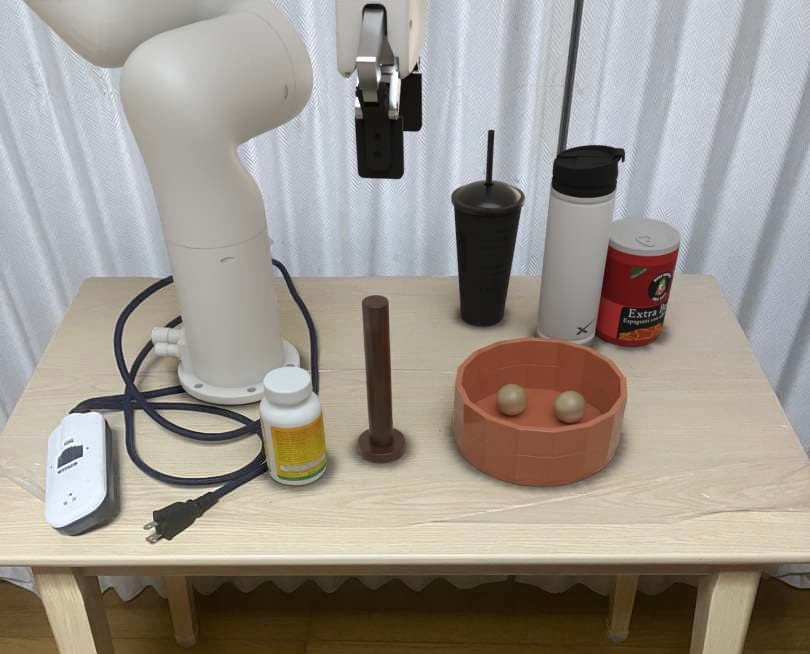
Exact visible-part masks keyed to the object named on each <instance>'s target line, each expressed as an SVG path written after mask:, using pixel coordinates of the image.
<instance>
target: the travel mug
mask: <svg viewBox="0 0 810 654" xmlns="http://www.w3.org/2000/svg"><path fill="white" fill-rule="evenodd" d="M625 150H626V149H625V148H624V147H614V146H610V145H603V144H586V145H580V146H574V147H570V148H567V149H564V150H562V151H560V152H559V153H557V155H556V157H555V158H554V159H553V163H552V176H551V181H550V191H549V198H548V207H547V208H548V209H547V218H546V229H545V239H544V247H543V248H544V249H543V259H542V268H541V279H540V289H539V298H538V300H539V301H538V308H537V309H538V311H537V319H536V322H537V323H536V329H535V330H536V331H535V337H536V338H552V339H562V340H565V341H569V342H573V343H576V344H580V345H583V346H587V347H590V348H592V346H593V345H594V342H595V336H596V333H595V328H596V323H597V317H598V310H599V303H600V297H601V290H602V283H603V277H604V270H605V263H606V257H607V250H608V243H609V237H610V230H611V223H612V222H613V215H614V210H615V203H616V194H617V190H618V186H617V185H618V178H619V162H620V161H621V163H625V161H626V151H625Z"/></svg>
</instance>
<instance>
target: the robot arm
mask: <svg viewBox="0 0 810 654" xmlns="http://www.w3.org/2000/svg"><path fill="white" fill-rule="evenodd" d="M22 2H23V3H24V4H26V6H28V8H29V9H31V11H33V13H35V14H36V15H37V17H39V18H40V19H41V20H42V21H43V22H44V23H45V24H46V25H47V27H49V28H50V29H51V30H52V31H53V32H54V33H55V34H56V35H57V36H58V37H59V38H60V39H61V40H62V41H63V42H64V43H65V44H66V45H67V46H68V47H69V48H71V49H72V50H73V51H74V52H75V53H76V54H77V55H79V56H80V57H81V58H82V59H84V60H85V61H87V62H88V63H89V64H91V65H93V66H96V67H98V68H102V69H118V68H122V69H121V73H120V76H119V77H120V78H119V96H120V102H121V107H122V109H123V113H124V115H125V117H126V121H127V124H128V126H129V129H130V130H131V133H132V136H133V139H134V140H135V143H136V145H137V148H138V150H139V153H140V155H141V158H142V160H143V163H144V166H145V169H146V172H147V175H148V178H149V182H150V185H151V189H152V192H153V195H154V196H153V197H154V200H155V204H156V208H157V212H158V218H159V221H160V226H161V230H162V231H161V232H162V235H163V238H164V243H165V248H166V252H167V257H168V262H169V265H170V266H169V268H170V271H171V275H172V279H173V280H172V281H173V285H174V289H175V290H174V291H175V295H176V299H177V304H178V308H179V312H180V317H181V322H182V327H181V328H180V329H179V328H172V327H162V326H160V327H159V326H154V327H153V328H152V330H151V336H150V337H151V342H152V344H153V346H154V355H155V356H156V357H162V358H170V357H172V358H173V357H174V358H177V360H179V363H178V366H177V376H178V380H179V384H180V385H181V388H182V390H184V391H185V392H186V393H187V394H188V395H190V396H192V397H193V398H195V399H198V400H200V401H203V402H206V403H211V404H215V405H226V406H227V405H228V406H231V405H233V406H234V405H244V404H245V405H246V404H252V403H257V402H261V401H262V399H263V398H264V397H265V394H264V385H263V380H264V377H265V376H266V375H267V374H268V373H269V372H271V371H272V370H275V369H278V368H281V367H299V368H302V367H301V358H300V357H301V356H300V353H299V351H298V350H297V348H296V347H295V346H294V345H293V344H291V342H289V341H288V340H285V339H283V336H282V329H281V321H280V314H279V313H280V312H279V305H278V297H277V291H276V290H277V289H276V283H275V282H276V281H275V274H274V266H273V260H272V252H271V244H270V237H269V229H268V222H267V215H266V208H265V207H266V206H265V202H264V197H263V194H262V192H261V189H260V187H259V185H258V183H257V181H256V180H255V178H254V177H253V176H252V174H251V173H250V172H249V170H248V169H247V167H246V166H245V165H244V163H243V162H242V160H241V158H240V156H239V152H238V148H239V146H241V145H243V144H245V143H247V142H249V141H250V140H252V139H254V138H256V137H259V136H261V135H263V134H265V133H268V132H271V131H272V130H276V129H277V128H279V127H281V126H283V125H285V124H287V123H289V122H291V121H292V120H294V119H295V118H296V117H298V116H299V115H300V114H301V113H302V112H303V110H304V109H305V108H306V107H307V105H308V103H309V101H310V99H311V97H312V93H313V88H314V70H313V65H312V60H311V56H310V54H309V51H308V49H307V47H306V44H305V42H304V41H303V39H302V37H301V35H300V34H299V32H298V31H297V29H296V28H295V26H294V25H293V23H292V22H291V21H290V20H289V19H288V18H287V16H286V15H285V14H284V13H283V12H282V11H281V10H280V9H279V8H278V7H277V6H276V5H275V4H274V3H273V2H272V1H271V0H22ZM334 9H335V10H334V11H335V14H334V15H335V45H336V66H337V67H336V68H337V72H338V73H339V74H340V75H341V77H343V78H344V79H349V78H350V77H352V75H353V74H354V73H355V71H356V86H355V91H354V94H355V99H354V100H355V102H354V114H355V115H354V130H355V131H354V132H355V133H354V134H355V149H356V165H357V166H356V167H357V175H358V176H359V178H362V179H379V180H401V179H402V178H403V177H404V174H405V142H404V141H405V138H404V136H405V135H404V133H405V132H408V133H409V132H412V133H413V132H415V133H418V132H420V131H421V130H422V127H423V73H422V72H421V54H422V51H423V49H424V46H425V42H426V35H427V16H428V14H427V12H428V0H334Z"/></svg>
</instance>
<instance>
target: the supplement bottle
mask: <svg viewBox="0 0 810 654" xmlns="http://www.w3.org/2000/svg"><path fill="white" fill-rule="evenodd" d="M263 385H264V394H265V397H264V398H263V399H262V400H260V403H259V407H258V414H259V421H260V426H261V434H262V441H263V447H264V453H265V460H266V466H267V470H268V473H269V475H270V477H271V478H272V479H273V480H275V481H276V482H278V483H280V484H283V485H287V486H304V485H309V484H311V483H314V482H315V481H318V479H320V478H321V477H322V476H323V475H324V473H325V472H326V469H327V466H328V459H327V448H326V437H325V425H324V416H323V415H324V414H323V405H322V401H321V399H320V397H319V396H318V395H317V393H315V392H314V390H313V389H314V388H313V382H312V376H311V374H310V373H309V371H307V370H306V369H305V368H302V367H300V368H299V367H281V368H278V369H275V370H272V371H271V372H269V373H268V374H267V375H266V376H265V377H264V380H263Z"/></svg>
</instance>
